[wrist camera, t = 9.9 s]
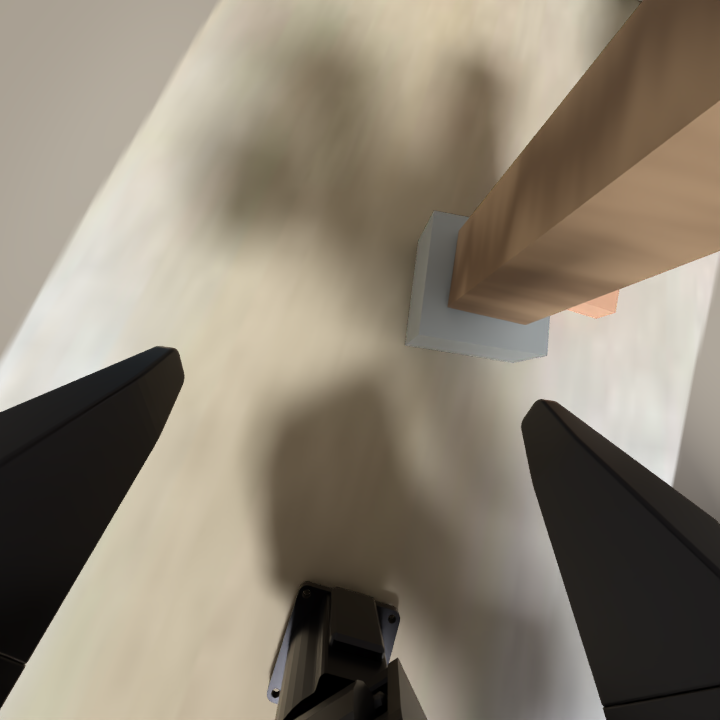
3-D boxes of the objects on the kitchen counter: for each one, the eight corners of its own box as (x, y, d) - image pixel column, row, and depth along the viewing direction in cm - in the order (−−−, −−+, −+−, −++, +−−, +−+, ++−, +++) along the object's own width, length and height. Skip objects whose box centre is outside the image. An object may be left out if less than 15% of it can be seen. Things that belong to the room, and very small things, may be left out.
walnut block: (525, 325, 19) (940, 166, 6) (447, 307, 19) (723, 96, 6) (533, 249, 20) (916, -27, 7) (458, 230, 19) (724, -103, 7)
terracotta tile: (592, 319, 24) (615, 312, 22) (531, 300, 24) (548, 291, 22) (602, 260, 25) (626, 248, 23) (543, 241, 25) (561, 227, 23)
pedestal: (510, 363, 23) (547, 355, 19) (403, 346, 22) (418, 334, 19) (518, 260, 24) (555, 233, 20) (417, 242, 24) (434, 210, 20)
